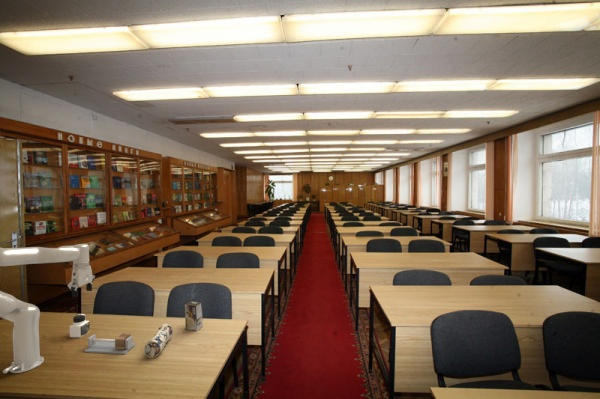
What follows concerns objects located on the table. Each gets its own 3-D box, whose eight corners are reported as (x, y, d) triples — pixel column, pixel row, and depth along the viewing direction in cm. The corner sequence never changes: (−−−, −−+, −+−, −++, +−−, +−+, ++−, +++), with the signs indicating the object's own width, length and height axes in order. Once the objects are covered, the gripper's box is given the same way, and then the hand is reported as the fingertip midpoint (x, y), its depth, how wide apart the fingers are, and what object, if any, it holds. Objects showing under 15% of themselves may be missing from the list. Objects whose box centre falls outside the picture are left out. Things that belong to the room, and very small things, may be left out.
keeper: (123, 349, 156) (123, 339, 156) (115, 349, 156) (114, 338, 156) (131, 343, 162) (130, 333, 161) (123, 343, 162) (122, 333, 162)
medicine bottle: (81, 337, 172) (80, 318, 171) (69, 337, 172) (68, 318, 172) (90, 331, 179) (89, 313, 179) (78, 331, 179) (78, 312, 179)
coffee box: (203, 326, 185) (202, 302, 184) (197, 331, 179) (196, 306, 178) (191, 324, 188) (190, 300, 187) (184, 329, 182) (184, 304, 181)
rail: (125, 354, 154) (124, 342, 154) (84, 352, 156) (83, 340, 156) (136, 345, 163) (135, 334, 163) (97, 343, 165) (97, 332, 165)
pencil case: (160, 358, 151) (159, 340, 150) (143, 359, 150) (143, 341, 149) (174, 337, 172) (173, 321, 172) (159, 337, 171) (159, 322, 171)
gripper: (74, 269, 158) (75, 299, 159) (99, 261, 175) (99, 288, 176) (61, 269, 159) (62, 299, 159) (88, 261, 176) (88, 288, 177)
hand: (82, 293), depth 168 cm, fingers open, 9 cm apart
